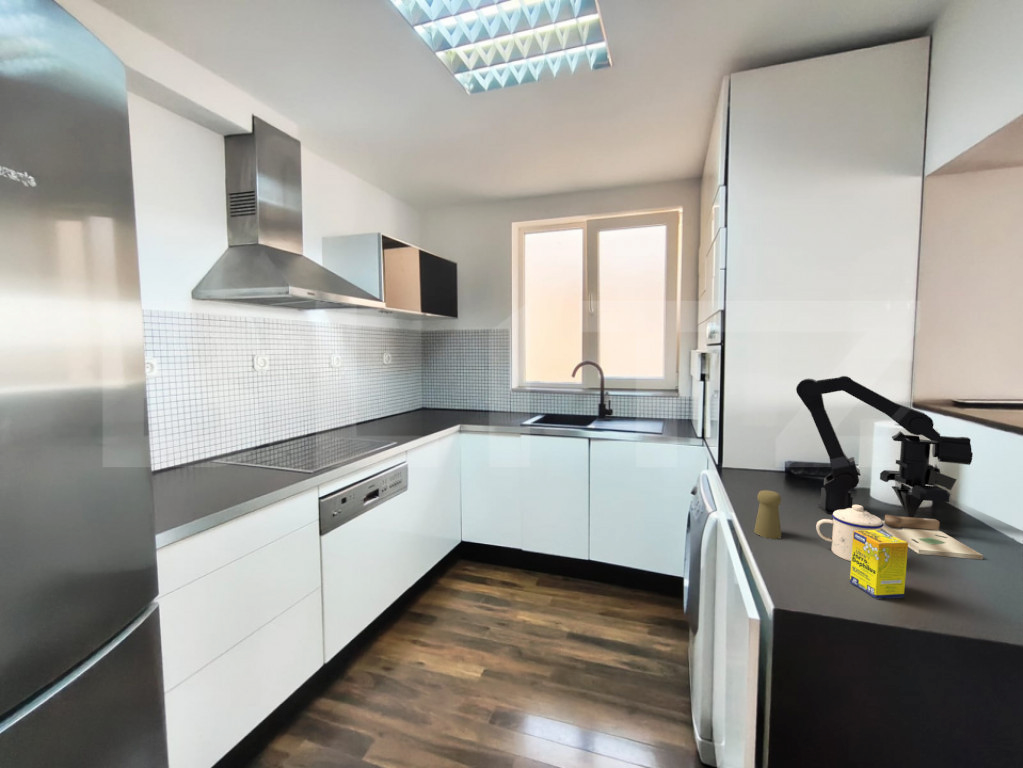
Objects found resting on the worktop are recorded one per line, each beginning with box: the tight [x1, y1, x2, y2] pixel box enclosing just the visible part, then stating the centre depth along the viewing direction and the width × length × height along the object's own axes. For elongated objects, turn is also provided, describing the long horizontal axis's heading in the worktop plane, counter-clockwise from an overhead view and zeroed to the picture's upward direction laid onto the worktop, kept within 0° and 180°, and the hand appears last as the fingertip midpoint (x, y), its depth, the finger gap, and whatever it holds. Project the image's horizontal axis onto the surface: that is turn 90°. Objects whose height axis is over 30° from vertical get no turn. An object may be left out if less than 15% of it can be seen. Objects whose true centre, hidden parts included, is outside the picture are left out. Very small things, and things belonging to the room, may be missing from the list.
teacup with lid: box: [815, 504, 883, 562], centre depth 101 cm, size 12×9×12 cm
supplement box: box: [849, 530, 909, 600], centre depth 86 cm, size 6×6×11 cm
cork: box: [753, 489, 782, 540], centre depth 112 cm, size 6×6×11 cm
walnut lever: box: [884, 514, 940, 530], centre depth 113 cm, size 11×3×2 cm, turn 76°
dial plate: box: [882, 520, 984, 560], centre depth 108 cm, size 12×18×1 cm, turn 166°
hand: (910, 516), depth 118 cm, fingers closed
